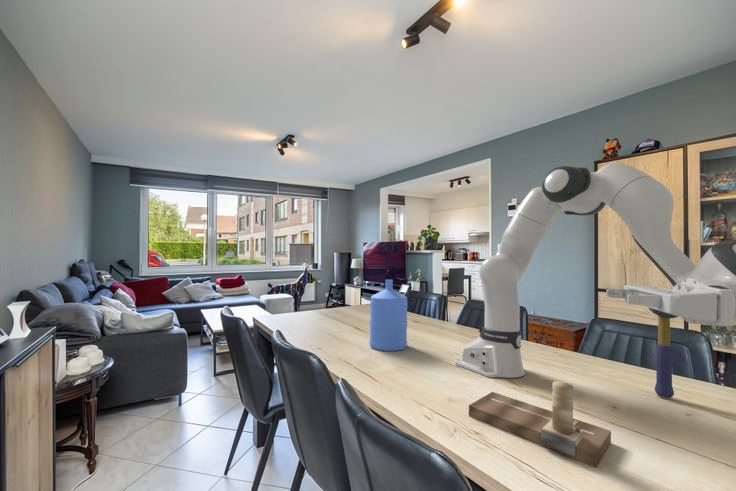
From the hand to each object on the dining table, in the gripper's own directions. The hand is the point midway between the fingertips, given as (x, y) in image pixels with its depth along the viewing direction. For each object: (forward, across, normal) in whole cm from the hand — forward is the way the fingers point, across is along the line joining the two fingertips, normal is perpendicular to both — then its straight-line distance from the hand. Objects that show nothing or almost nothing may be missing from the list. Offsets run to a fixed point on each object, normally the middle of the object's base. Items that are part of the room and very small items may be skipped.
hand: (616, 295), depth 69 cm
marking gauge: (+10, +5, +30) cm, 32 cm away
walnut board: (+14, -2, +31) cm, 34 cm away
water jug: (+61, -55, +33) cm, 89 cm away
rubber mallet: (-24, -33, +31) cm, 51 cm away
